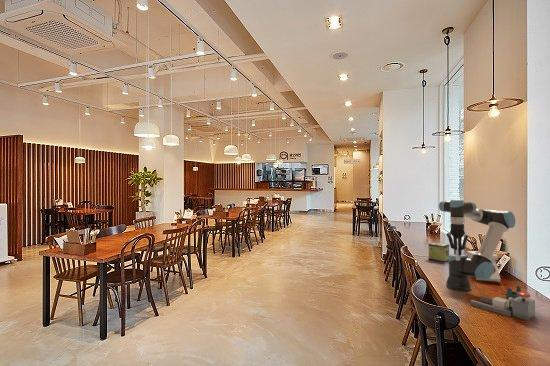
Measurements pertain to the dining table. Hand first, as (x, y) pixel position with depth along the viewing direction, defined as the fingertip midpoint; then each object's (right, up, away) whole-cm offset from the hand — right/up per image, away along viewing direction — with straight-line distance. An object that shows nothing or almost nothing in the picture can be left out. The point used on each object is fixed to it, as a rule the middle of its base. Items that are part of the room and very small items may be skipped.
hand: (457, 260), depth 196 cm
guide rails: (+12, -24, -16) cm, 32 cm away
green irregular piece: (+32, -25, -7) cm, 41 cm away
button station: (+19, -24, -26) cm, 40 cm away
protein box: (+40, -25, +97) cm, 108 cm away
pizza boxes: (+45, -25, +42) cm, 67 cm away
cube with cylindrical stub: (+14, -24, -18) cm, 34 cm away
